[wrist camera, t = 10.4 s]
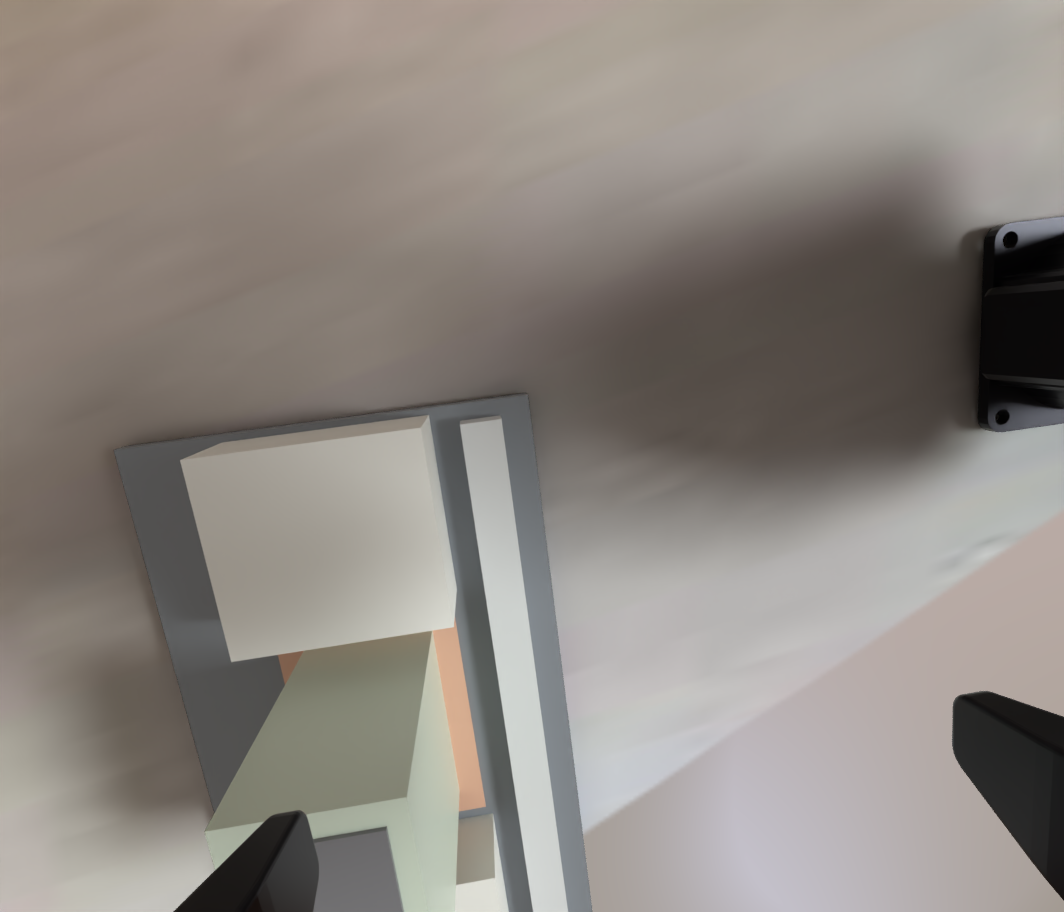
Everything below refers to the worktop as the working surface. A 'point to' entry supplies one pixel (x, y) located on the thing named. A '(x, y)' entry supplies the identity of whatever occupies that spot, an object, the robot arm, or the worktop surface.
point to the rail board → (257, 680)
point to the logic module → (358, 776)
